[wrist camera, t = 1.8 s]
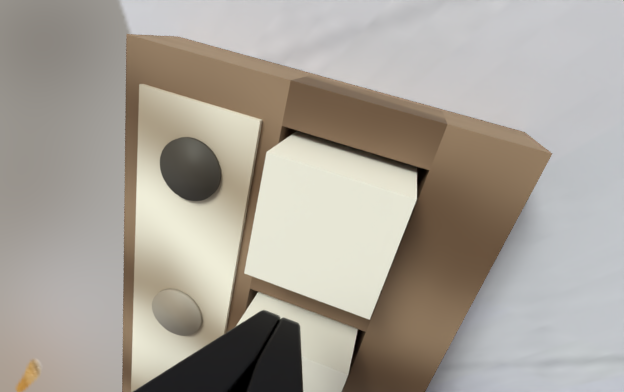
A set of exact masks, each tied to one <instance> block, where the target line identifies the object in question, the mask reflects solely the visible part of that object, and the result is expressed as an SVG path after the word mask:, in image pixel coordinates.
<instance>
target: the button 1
mask: <svg viewBox="0 0 624 392" xmlns="http://www.w3.org/2000/svg"><path fill="white" fill-rule="evenodd" d="M416 200H417V167H415V166H412V165H409V164H405V163H402V162H399V161H395V160H392V159H389V158H385V157H382V156H379V155H376V154H372V153H369V152H366V151H362V150H359V149H356V148H352V147H349V146H346V145H342V144H339V143H336V142H332V141H329V140H326V139H322V138H319V137H316V136H313V135H309V134H306V133H303V132H299V131H296V132H295V133H293V134H292V135H290V136H289V137H287V138H286V139H285V140H283V141H282V142H280V143H279V144H277V145H276V146H274V147H273V148H271V149H270V150H268V151H267V152H266V157H265V163H264V168H263V174H262V179H261V185H260V190H259V195H258V201H257V206H256V212H255V217H254V222H253V228H252V233H251V239H250V244H249V250H248V255H247V260H246V266H245V271H244V273H245V274H247V275H250V276H253V277H255V278H258V279H261V280H264V281H266V282H269V283H272V284H274V285H277V286H280V287H283V288H285V289H288V290H291V291H293V292H296V293H299V294H301V295H304V296H307V297H310V298H312V299H315V300H318V301H320V302H323V303H326V304H328V305H331V306H334V307H337V308H339V309H342V310H345V311H347V312H350V313H353V314H355V315H358V316H361V317H364V318H366V319H369V320H370V318H371V315H372V313H373V310H374V308H375V305H376V303H377V300H378V297H379V295H380V292H381V290H382V287H383V285H384V282H385V280H386V277H387V274H388V272H389V269H390V267H391V264H392V262H393V259H394V257H395V254H396V251H397V249H398V246H399V244H400V241H401V239H402V236H403V234H404V231H405V228H406V226H407V223H408V221H409V218H410V216H411V213H412V210H413V208H414V205H415V203H416Z"/></svg>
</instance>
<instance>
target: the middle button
mask: <svg viewBox="0 0 624 392" xmlns="http://www.w3.org/2000/svg"><path fill="white" fill-rule="evenodd" d="M262 310H266V311H269V312H272V313H274V314H277V315H279V316H280V319H281V318H283V317H284V318H287V319H290V320H292V321H295V322H298V323H299V324H300V332H301V353H302V375H303V392H342V390H343V387H344V384H345V382H346V379H347V377H348V374H349V369H350V364H351V359H352V355H353V350H354V345H355V340H356V336H357V331H358V329H357V328H354V327H351V326H349V325H346V324H343V323H341V322H338V321H335V320H333V319H330V318H327V317H325V316H322V315H319V314H317V313H314V312H311V311H309V310H306V309H303V308H301V307H298V306H295V305H293V304H290V303H287V302H285V301H282V300H279V299H277V298H274V297H271V296H269V295H266V294H263V293H261V292H258V293H257V295H256V296H255V298H254V299H253V301H252V302H251V304H250V305H249V307H248V308H247V310H246V311H245V313H244V315H243V316H242V318H241V319H240V321H239V322H238V324H237V325H239V324H241V323H242V322H244V321H245V320H247V319H249V318H250V317H252V316H253V315H255V314H256V313H258V312H260V311H262ZM237 325H236V326H237Z"/></svg>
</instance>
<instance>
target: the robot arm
mask: <svg viewBox="0 0 624 392" xmlns="http://www.w3.org/2000/svg"><path fill="white" fill-rule="evenodd" d="M133 392H303V375H302V353H301V332H300V324H299V323H298V322H295V321H292V320H290V319H287V318H284V317H283V318H281V319H280V316H279V315H277V314H274V313H272V312H269V311H266V310H262V311H260V312H258V313H256V314H255V315H253V316H252V317H250V318H249V319H247V320H245V321H244V322H242V323H241V324H239V325H237V326H236V327H234V328H233V329H231V330H230V331H228V332H226V333H225V334H223V335H222V336H220V337H218V338H217V339H215V340H214V341H212V342H210V343H209V344H207V345H206V346H204V347H203V348H201V349H199V350H198V351H196V352H195V353H193V354H191V355H190V356H188V357H187V358H185V359H184V360H182V361H180V362H179V363H177V364H176V365H174V366H172V367H171V368H169V369H168V370H166V371H165V372H163V373H161V374H160V375H158V376H157V377H155V378H153V379H152V380H150V381H149V382H147V383H146V384H144V385H142V386H141V387H139V388H138V389H136V390H134V391H133Z"/></svg>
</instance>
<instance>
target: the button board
mask: <svg viewBox="0 0 624 392" xmlns="http://www.w3.org/2000/svg"><path fill="white" fill-rule="evenodd" d="M126 40H127V44H126V47H127V48H126V123H125V209H124V210H125V211H124V213H125V214H124V215H125V216H124V292H123V293H124V294H123V297H124V298H123V375H122V382H123V383H122V392H133V391H134V390H136V389H138V388H139V387H141V386H142V385H144V384H146V383H147V382H149V381H150V380H152V379H153V378H155V377H157V376H158V375H160V374H161V373H163V372H165V371H166V370H168V369H169V368H171V367H172V366H174V365H176V364H177V363H179V362H180V361H182V360H184V359H185V358H187V357H188V356H190V355H191V354H193V353H195V352H196V351H198V350H199V349H201V348H203V347H204V346H206V345H207V344H209V343H210V342H212V341H214V340H215V339H217V338H218V337H220V336H222V335H223V334H225V333H226V332H228V331H230V330H231V329H233V328H234V327H236V325H237V324H238V322H239V321H240V319H241V318H242V316H243V315H244V313H245V311H246V310H247V308H248V307H249V305H250V304H251V302H252V301H253V299H254V298H255V296H256V295H257V293H258V292H261V293H263V294H266V295H269V296H271V297H274V298H277V299H279V300H282V301H285V302H287V303H290V304H293V305H295V306H298V307H301V308H303V309H306V310H309V311H311V312H314V313H317V314H319V315H322V316H325V317H327V318H330V319H333V320H335V321H338V322H341V323H343V324H346V325H349V326H351V327H354V328H357V329H358V331H357V336H356V340H355V345H354V350H353V355H352V359H351V364H350V369H349V374H348V377H347V379H346V382H345V384H344V387H343V390H342V392H425V391H426V389H427V387H428V385H429V383H430V381H431V379H432V378H433V376H434V374H435V372H436V370H437V368H438V366H439V364H440V363H441V361H442V359H443V357H444V355H445V353H446V351H447V350H448V348H449V346H450V344H451V342H452V340H453V338H454V336H455V335H456V333H457V331H458V329H459V327H460V325H461V323H462V321H463V320H464V318H465V316H466V314H467V312H468V310H469V308H470V306H471V305H472V303H473V301H474V299H475V297H476V295H477V293H478V292H479V290H480V288H481V286H482V284H483V282H484V280H485V278H486V277H487V275H488V273H489V271H490V269H491V267H492V265H493V263H494V262H495V260H496V258H497V256H498V254H499V252H500V250H501V249H502V247H503V245H504V243H505V241H506V239H507V237H508V235H509V234H510V232H511V230H512V228H513V226H514V224H515V222H516V220H517V219H518V217H519V215H520V213H521V211H522V209H523V207H524V206H525V204H526V202H527V200H528V198H529V196H530V194H531V192H532V191H533V189H534V187H535V185H536V183H537V181H538V179H539V177H540V176H541V174H542V172H543V170H544V168H545V166H546V164H547V163H548V161H549V159H550V157H551V155H552V153H551V152H549V151H548V150H547V149H545V148H544V147H543V146H542V145H540V144H539V143H538V142H536V141H535V140H534V139H533V138H531V137H530V136H529V135H527V134H526V133H525V132H522V131H518V130H515V129H511V128H507V127H504V126H500V125H497V124H493V123H489V122H486V121H482V120H478V119H475V118H471V117H468V116H464V115H460V114H457V113H453V112H449V111H446V110H442V109H439V108H435V107H431V106H428V105H424V104H420V103H417V102H413V101H409V100H406V99H402V98H399V97H395V96H391V95H388V94H384V93H380V92H377V91H373V90H370V89H366V88H362V87H359V86H355V85H351V84H348V83H344V82H341V81H337V80H333V79H330V78H326V77H322V76H319V75H315V74H312V73H308V72H304V71H301V70H297V69H293V68H290V67H286V66H283V65H279V64H275V63H272V62H268V61H264V60H261V59H257V58H253V57H250V56H246V55H243V54H239V53H235V52H232V51H228V50H224V49H221V48H217V47H214V46H210V45H206V44H203V43H199V42H195V41H192V40H188V39H185V38H181V37H174V36H154V35H134V34H127V39H126ZM296 131H299V132H303V133H306V134H309V135H313V136H316V137H319V138H322V139H326V140H329V141H332V142H336V143H339V144H342V145H346V146H349V147H352V148H356V149H359V150H362V151H366V152H369V153H372V154H376V155H379V156H382V157H385V158H389V159H392V160H395V161H399V162H402V163H405V164H409V165H412V166H415V167H417V200H416V203H415V205H414V208H413V210H412V213H411V216H410V218H409V221H408V223H407V226H406V228H405V231H404V234H403V236H402V239H401V241H400V244H399V246H398V249H397V251H396V254H395V257H394V259H393V262H392V264H391V267H390V269H389V272H388V274H387V277H386V280H385V282H384V285H383V287H382V290H381V292H380V295H379V297H378V300H377V303H376V305H375V308H374V310H373V313H372V315H371V318H370V320H369V319H366V318H364V317H361V316H358V315H355V314H353V313H350V312H347V311H345V310H342V309H339V308H337V307H334V306H331V305H328V304H326V303H323V302H320V301H318V300H315V299H312V298H310V297H307V296H304V295H301V294H299V293H296V292H293V291H291V290H288V289H285V288H283V287H280V286H277V285H274V284H272V283H269V282H266V281H264V280H261V279H258V278H255V277H253V276H250V275H247V274H245V273H244V271H245V266H246V260H247V255H248V250H249V244H250V239H251V233H252V228H253V222H254V217H255V212H256V206H257V201H258V195H259V190H260V185H261V179H262V174H263V168H264V163H265V157H266V152H267V151H268V150H270V149H271V148H273V147H274V146H276V145H277V144H279V143H280V142H282V141H283V140H285V139H286V138H287V137H289V136H290V135H292V134H293V133H295V132H296Z"/></svg>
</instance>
